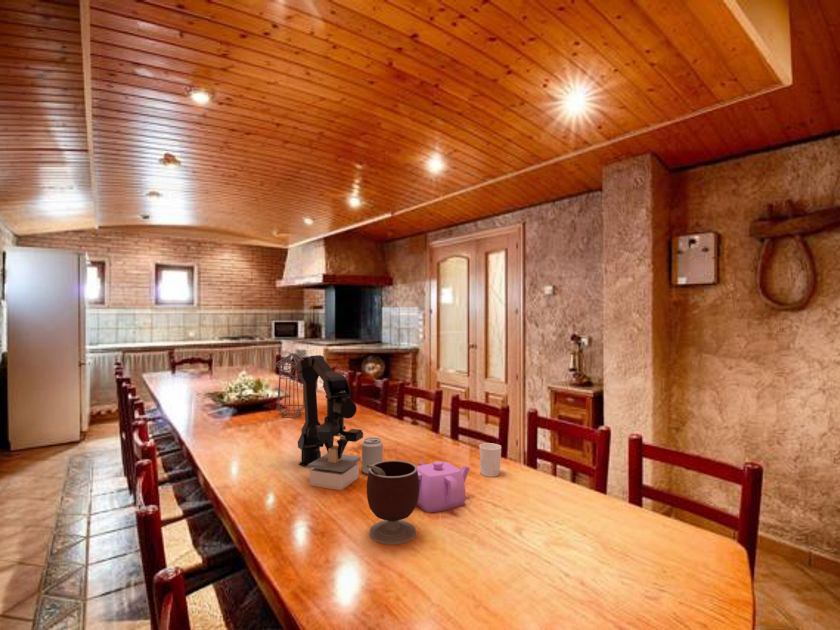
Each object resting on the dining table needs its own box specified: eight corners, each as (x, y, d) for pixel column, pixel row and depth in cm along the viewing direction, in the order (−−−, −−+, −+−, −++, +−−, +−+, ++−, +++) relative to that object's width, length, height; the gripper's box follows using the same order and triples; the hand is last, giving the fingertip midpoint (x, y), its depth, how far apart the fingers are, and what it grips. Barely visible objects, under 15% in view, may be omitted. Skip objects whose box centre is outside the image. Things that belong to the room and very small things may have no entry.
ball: (326, 480, 153) (326, 468, 153) (332, 476, 157) (332, 465, 157) (337, 482, 152) (337, 470, 152) (342, 477, 155) (342, 466, 155)
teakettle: (403, 510, 133) (403, 468, 132) (419, 488, 149) (419, 451, 149) (459, 518, 128) (460, 474, 128) (470, 494, 144) (470, 456, 144)
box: (310, 485, 150) (310, 470, 150) (328, 473, 162) (328, 459, 162) (341, 490, 146) (341, 475, 146) (358, 477, 158) (358, 463, 158)
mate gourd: (395, 515, 129) (395, 446, 128) (429, 533, 119) (430, 457, 119) (350, 534, 118) (351, 458, 118) (384, 555, 108) (385, 472, 108)
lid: (308, 467, 150) (308, 450, 150) (328, 455, 162) (328, 440, 162) (342, 472, 146) (342, 455, 146) (360, 459, 158) (360, 444, 158)
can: (379, 476, 159) (379, 442, 159) (358, 474, 161) (359, 441, 161) (384, 469, 167) (385, 436, 167) (365, 467, 168) (365, 435, 168)
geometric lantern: (272, 418, 244) (272, 354, 243) (285, 412, 259) (285, 352, 259) (299, 419, 241) (299, 355, 241) (311, 413, 256) (311, 352, 256)
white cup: (503, 471, 165) (503, 444, 165) (497, 479, 158) (498, 450, 157) (482, 468, 168) (483, 441, 168) (476, 475, 161) (476, 447, 161)
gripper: (298, 415, 149) (298, 462, 149) (348, 420, 143) (348, 469, 143) (316, 408, 160) (316, 452, 160) (363, 413, 154) (363, 458, 154)
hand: (335, 458), depth 154 cm, fingers closed on lid, 3 cm apart
